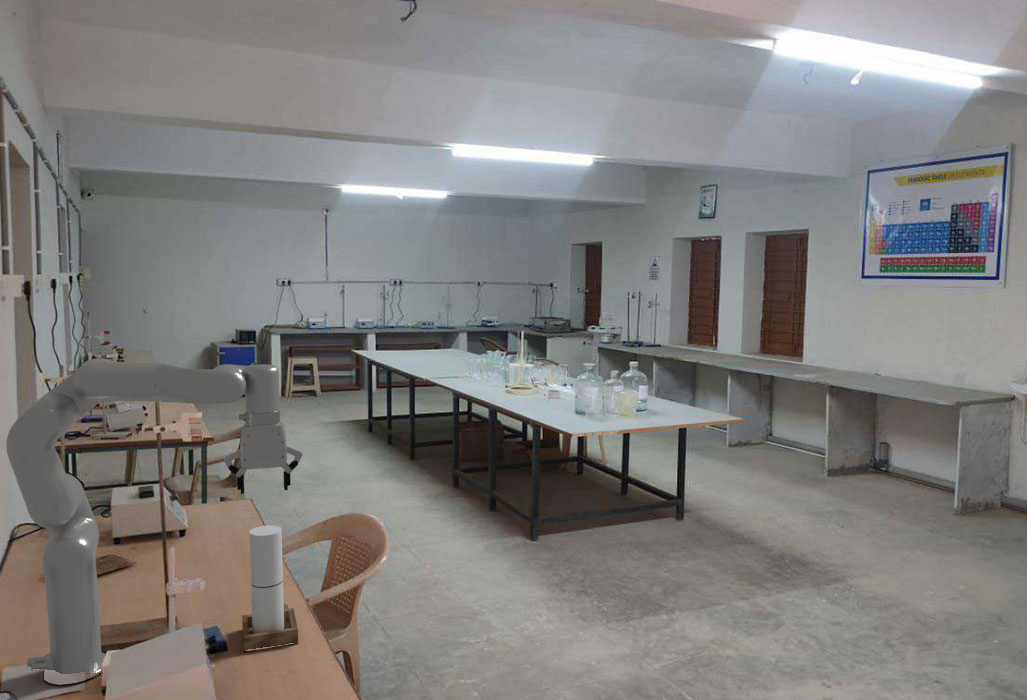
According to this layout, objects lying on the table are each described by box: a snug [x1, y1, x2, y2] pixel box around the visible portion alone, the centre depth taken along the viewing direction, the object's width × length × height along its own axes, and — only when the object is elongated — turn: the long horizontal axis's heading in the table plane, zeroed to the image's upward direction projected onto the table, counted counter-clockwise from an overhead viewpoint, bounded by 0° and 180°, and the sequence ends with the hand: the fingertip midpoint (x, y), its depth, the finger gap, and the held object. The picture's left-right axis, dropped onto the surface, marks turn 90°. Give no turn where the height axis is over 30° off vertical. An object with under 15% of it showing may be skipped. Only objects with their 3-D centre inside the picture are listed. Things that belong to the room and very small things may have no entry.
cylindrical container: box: [249, 524, 285, 634], centre depth 180 cm, size 7×7×25 cm
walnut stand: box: [241, 607, 299, 651], centre depth 181 cm, size 12×12×4 cm
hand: (264, 490), depth 177 cm, fingers open, 9 cm apart
